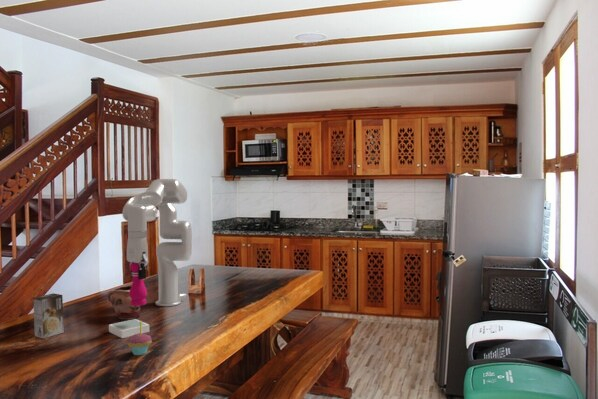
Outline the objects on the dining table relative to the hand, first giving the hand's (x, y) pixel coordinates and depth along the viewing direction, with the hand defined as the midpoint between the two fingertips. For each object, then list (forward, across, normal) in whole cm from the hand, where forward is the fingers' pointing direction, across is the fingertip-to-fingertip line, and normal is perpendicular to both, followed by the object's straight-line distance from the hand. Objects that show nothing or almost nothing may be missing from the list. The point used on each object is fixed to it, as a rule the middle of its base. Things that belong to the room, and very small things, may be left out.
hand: (138, 277), depth 211 cm
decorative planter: (+23, -23, +6) cm, 33 cm away
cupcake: (+23, +25, -13) cm, 37 cm away
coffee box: (+23, -22, -28) cm, 42 cm away
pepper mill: (+11, +1, 0) cm, 11 cm away
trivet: (+23, -2, -4) cm, 23 cm away
